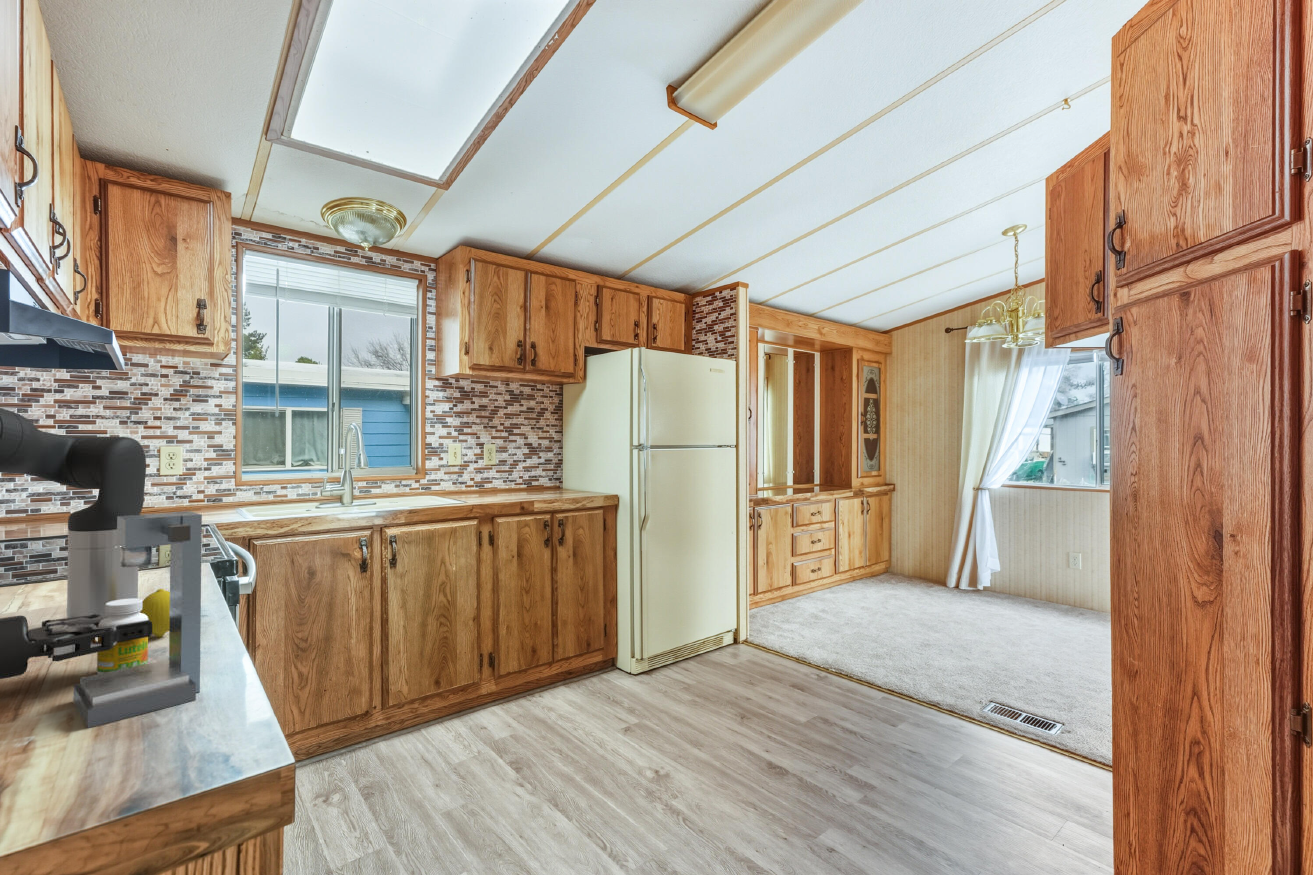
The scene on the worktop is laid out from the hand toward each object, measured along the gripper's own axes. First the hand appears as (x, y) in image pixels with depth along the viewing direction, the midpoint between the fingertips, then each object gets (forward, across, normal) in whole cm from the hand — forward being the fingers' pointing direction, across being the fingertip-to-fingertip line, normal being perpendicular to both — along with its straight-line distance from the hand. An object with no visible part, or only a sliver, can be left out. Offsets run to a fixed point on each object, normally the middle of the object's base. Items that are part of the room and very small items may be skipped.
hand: (146, 623), depth 88 cm
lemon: (+4, +15, +6) cm, 17 cm away
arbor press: (-3, -16, +6) cm, 17 cm away
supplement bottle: (-3, 0, +6) cm, 7 cm away
